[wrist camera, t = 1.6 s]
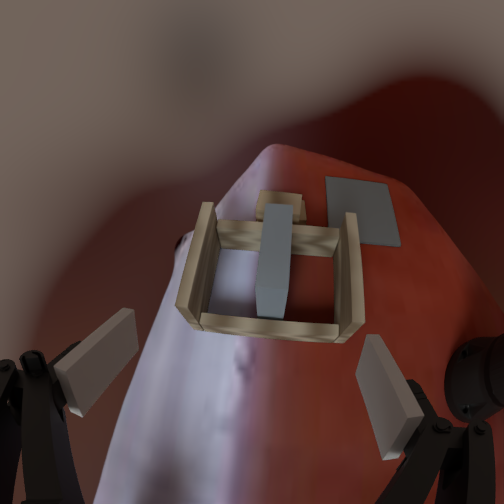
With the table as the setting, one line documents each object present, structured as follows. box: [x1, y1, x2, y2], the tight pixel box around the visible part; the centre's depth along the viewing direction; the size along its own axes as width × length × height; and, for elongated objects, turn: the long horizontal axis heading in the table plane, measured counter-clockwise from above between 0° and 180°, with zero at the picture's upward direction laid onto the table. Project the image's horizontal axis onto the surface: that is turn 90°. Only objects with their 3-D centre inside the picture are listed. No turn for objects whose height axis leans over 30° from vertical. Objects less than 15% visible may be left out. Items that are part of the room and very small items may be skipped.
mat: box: [325, 176, 401, 247], centre depth 52 cm, size 14×16×1 cm
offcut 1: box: [256, 190, 302, 224], centre depth 46 cm, size 7×4×2 cm, turn 80°
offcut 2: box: [258, 200, 307, 226], centre depth 48 cm, size 8×4×2 cm, turn 88°
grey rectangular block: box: [255, 203, 293, 321], centre depth 39 cm, size 4×12×13 cm, turn 173°
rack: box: [175, 202, 365, 343], centre depth 40 cm, size 23×16×10 cm
